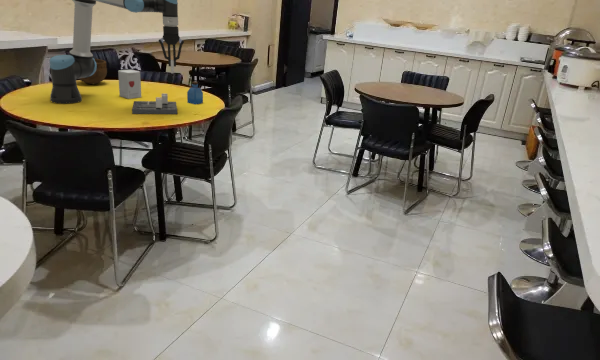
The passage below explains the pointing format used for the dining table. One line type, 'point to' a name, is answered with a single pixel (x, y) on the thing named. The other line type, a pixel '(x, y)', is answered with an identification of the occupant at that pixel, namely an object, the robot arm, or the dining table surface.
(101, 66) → the bowl
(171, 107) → the console
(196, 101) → the perfume bottle
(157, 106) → the fader
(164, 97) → the fader
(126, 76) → the supplement box
